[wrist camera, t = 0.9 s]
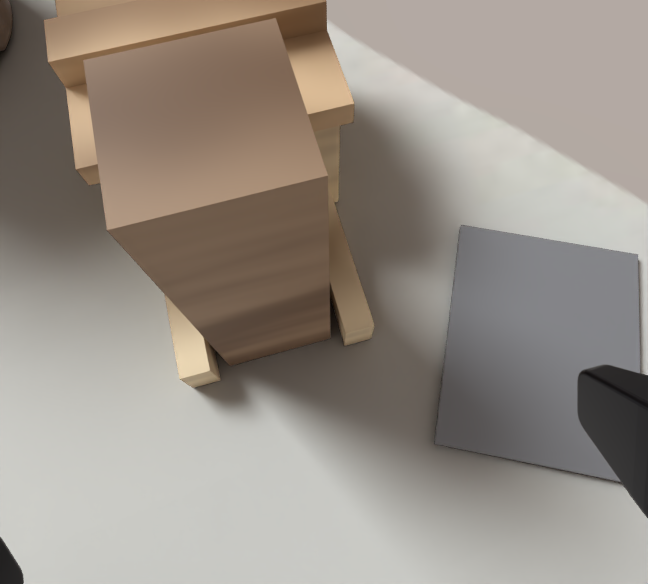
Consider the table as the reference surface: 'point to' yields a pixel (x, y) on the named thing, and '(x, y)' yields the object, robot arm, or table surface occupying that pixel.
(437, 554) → the table surface
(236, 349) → the walnut block
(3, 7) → the plant pot
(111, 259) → the table surface
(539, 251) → the felt mat
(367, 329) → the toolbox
